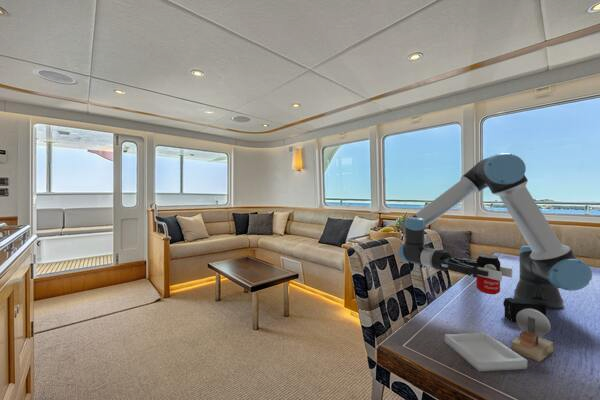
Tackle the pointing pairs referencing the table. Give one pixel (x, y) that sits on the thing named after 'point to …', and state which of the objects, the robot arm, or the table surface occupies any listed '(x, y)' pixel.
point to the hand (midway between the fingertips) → (506, 274)
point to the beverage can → (486, 283)
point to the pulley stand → (532, 335)
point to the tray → (485, 352)
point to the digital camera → (521, 307)
